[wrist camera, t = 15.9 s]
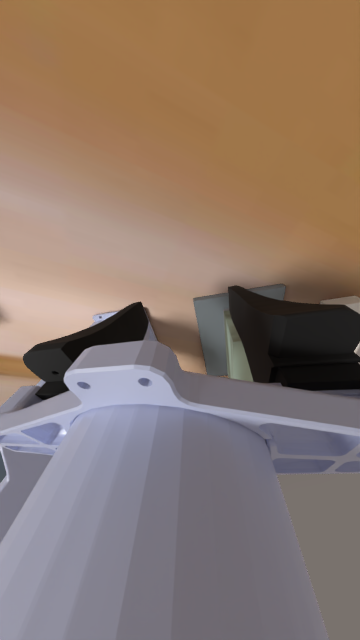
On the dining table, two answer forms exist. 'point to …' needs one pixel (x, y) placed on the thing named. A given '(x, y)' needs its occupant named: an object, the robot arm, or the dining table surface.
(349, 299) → the chalk tile
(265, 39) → the dining table surface
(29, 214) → the dining table surface
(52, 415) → the robot arm
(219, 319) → the slate board
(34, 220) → the dining table surface
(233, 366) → the block
